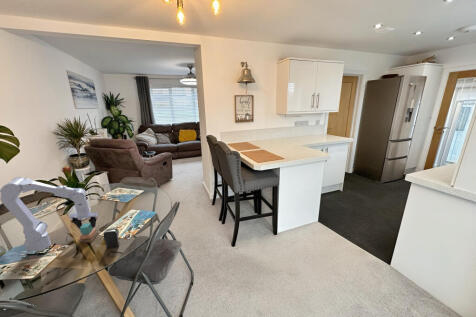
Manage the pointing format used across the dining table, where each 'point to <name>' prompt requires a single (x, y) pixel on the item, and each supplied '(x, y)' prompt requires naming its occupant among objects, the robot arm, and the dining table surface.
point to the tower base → (88, 239)
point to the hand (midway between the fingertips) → (87, 227)
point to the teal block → (86, 228)
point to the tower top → (87, 236)
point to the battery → (111, 238)
